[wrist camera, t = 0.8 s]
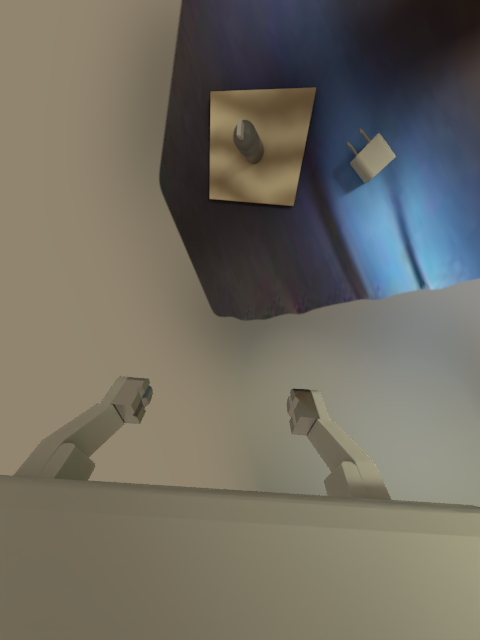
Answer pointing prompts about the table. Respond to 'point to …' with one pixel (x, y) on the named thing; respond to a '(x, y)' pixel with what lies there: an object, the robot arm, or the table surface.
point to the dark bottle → (248, 141)
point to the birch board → (276, 136)
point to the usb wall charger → (371, 157)
